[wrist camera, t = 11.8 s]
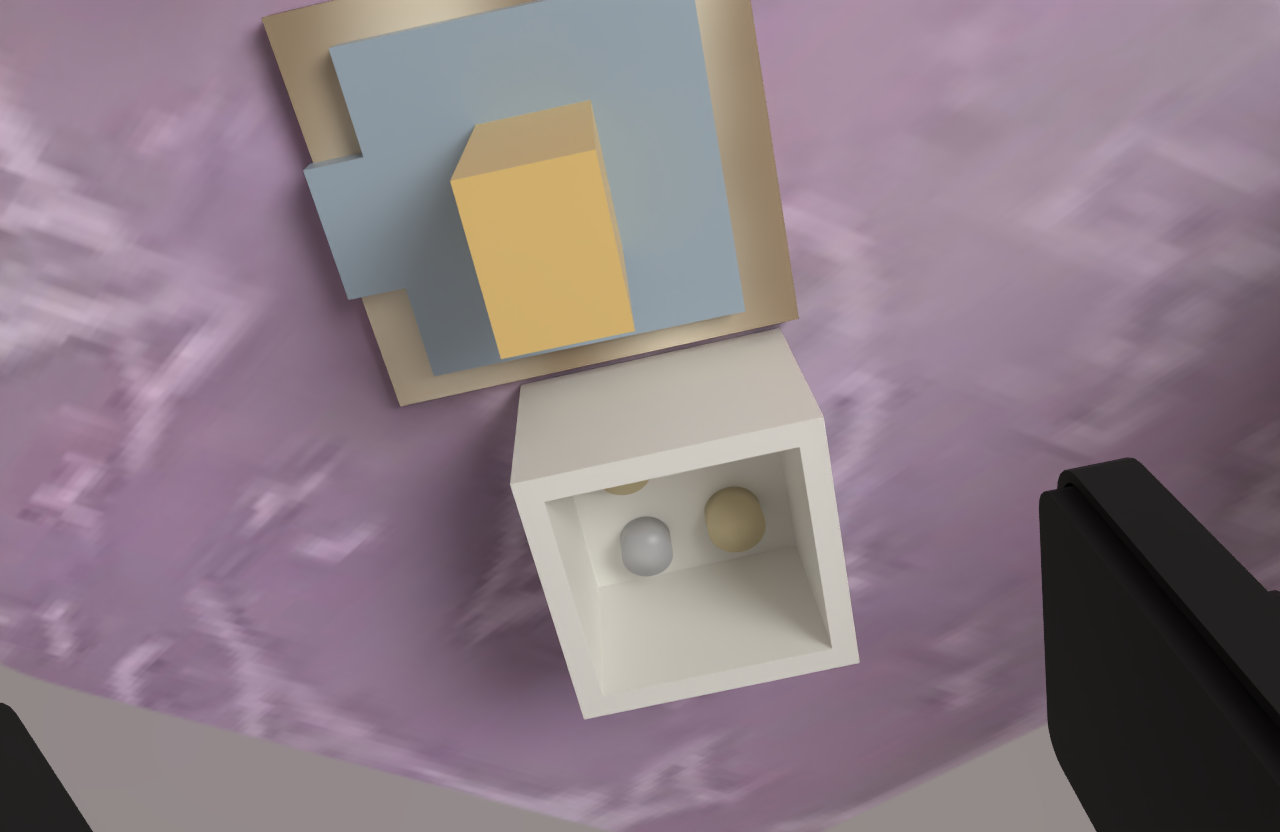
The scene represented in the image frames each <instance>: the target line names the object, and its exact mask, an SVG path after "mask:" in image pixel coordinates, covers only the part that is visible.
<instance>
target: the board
mask: <svg viewBox="0 0 1280 832" xmlns="http://www.w3.org/2000/svg"><path fill="white" fill-rule="evenodd" d="M530 1H535V0H331V1H327V2H323V3H319V4H315V5H310V6H306V7H302V8H298V9H294V10H289V11H285V12H281V13H277V14H272V15H269V16H266V17H263V18H261V19H262V21H263V24H264V27H265V30H266V33H267V35H268V38H269V41H270V44H271V47H272V49H273V52H274V55H275V58H276V61H277V63H278V66H279V69H280V72H281V74H282V77H283V80H284V83H285V86H286V88H287V91H288V94H289V97H290V100H291V102H292V105H293V108H294V111H295V114H296V116H297V119H298V122H299V125H300V128H301V130H302V133H303V136H304V139H305V142H306V144H307V147H308V150H309V153H310V155H311V158H312V161H313V163H316V162H320V161H325V160H330V159H334V158H339V157H343V156H348V155H353V154H357V153H362V151H361V148H360V145H359V142H358V138H357V135H356V132H355V129H354V126H353V123H352V120H351V117H350V114H349V110H348V107H347V104H346V101H345V98H344V95H343V92H342V89H341V86H340V82H339V79H338V76H337V73H336V70H335V67H334V64H333V61H332V58H331V54H330V51H329V48H330V47H332V46H334V45H336V44H341V43H345V42H350V41H354V40H359V39H363V38H368V37H372V36H377V35H381V34H386V33H390V32H395V31H399V30H404V29H408V28H413V27H417V26H422V25H426V24H431V23H435V22H440V21H444V20H449V19H454V18H458V17H463V16H467V15H472V14H476V13H481V12H485V11H490V10H494V9H499V8H503V7H508V6H512V5H517V4H521V3H526V2H530ZM695 4H696V10H697V16H698V22H699V28H700V35H701V41H702V47H703V53H704V59H705V65H706V72H707V78H708V84H709V90H710V96H711V102H712V108H713V115H714V121H715V127H716V133H717V139H718V145H719V151H720V158H721V164H722V170H723V176H724V182H725V188H726V195H727V201H728V207H729V213H730V219H731V225H732V231H733V238H734V244H735V250H736V256H737V262H738V268H739V274H740V281H741V287H742V293H743V299H744V305H745V312H740V313H736V314H731V315H726V316H721V317H716V318H712V319H707V320H702V321H697V322H693V323H688V324H683V325H678V326H673V327H669V328H664V329H659V330H654V331H649V332H645V333H640V334H635V335H630V336H625V337H621V338H616V339H611V340H606V341H602V342H597V343H592V344H587V345H582V346H578V347H573V348H568V349H563V350H558V351H554V352H549V353H544V354H539V355H534V356H530V357H525V358H520V359H515V360H510V361H506V362H501V363H496V364H491V365H487V366H482V367H477V368H472V369H467V370H463V371H458V372H453V373H448V374H443V375H439V376H434V375H433V372H432V369H431V366H430V363H429V359H428V356H427V353H426V350H425V347H424V344H423V341H422V338H421V335H420V331H419V328H418V325H417V322H416V319H415V316H414V313H413V310H412V307H411V303H410V300H409V297H408V294H407V291H406V288H404V289H399V290H394V291H389V292H385V293H380V294H375V295H371V296H366V297H361V298H362V301H363V304H364V306H365V309H366V312H367V315H368V318H369V320H370V323H371V326H372V329H373V331H374V334H375V337H376V340H377V343H378V345H379V348H380V351H381V354H382V357H383V359H384V362H385V365H386V368H387V371H388V373H389V376H390V379H391V382H392V385H393V387H394V390H395V393H396V396H397V399H398V401H399V404H400V406H405V405H409V404H414V403H419V402H423V401H428V400H432V399H437V398H441V397H446V396H450V395H455V394H459V393H464V392H468V391H473V390H478V389H482V388H487V387H491V386H496V385H500V384H505V383H509V382H514V381H518V380H523V379H528V378H532V377H537V376H541V375H546V374H550V373H555V372H559V371H564V370H568V369H573V368H577V367H582V366H587V365H591V364H596V363H600V362H605V361H609V360H614V359H618V358H623V357H627V356H632V355H636V354H641V353H646V352H650V351H655V350H659V349H664V348H668V347H673V346H677V345H682V344H686V343H691V342H696V341H700V340H705V339H709V338H714V337H718V336H723V335H727V334H732V333H736V332H741V331H745V330H750V329H755V328H759V327H764V326H768V325H773V324H777V323H782V322H786V321H791V320H795V319H799V316H798V310H797V303H796V297H795V290H794V283H793V277H792V270H791V264H790V257H789V250H788V244H787V237H786V231H785V224H784V217H783V211H782V204H781V198H780V191H779V184H778V178H777V171H776V165H775V158H774V152H773V145H772V138H771V132H770V125H769V119H768V112H767V105H766V99H765V92H764V86H763V79H762V72H761V66H760V59H759V53H758V46H757V39H756V33H755V26H754V20H753V13H752V6H751V0H695Z"/></svg>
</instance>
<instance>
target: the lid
mask: <svg viewBox="0 0 1280 832" xmlns="http://www.w3.org/2000/svg"><path fill="white" fill-rule="evenodd" d="M329 51H330V54H331V58H332V61H333V64H334V67H335V70H336V73H337V76H338V79H339V82H340V86H341V89H342V92H343V95H344V98H345V101H346V104H347V107H348V110H349V114H350V117H351V120H352V123H353V126H354V129H355V132H356V135H357V138H358V142H359V145H360V148H361V151H362V153H357V154H353V155H348V156H343V157H339V158H334V159H330V160H325V161H320V162H316V163H311V164H310V165H308V166H307V167H306V168H305V169H304V170H303V171H304V174H305V177H306V180H307V183H308V186H309V189H310V191H311V194H312V197H313V200H314V203H315V206H316V209H317V211H318V214H319V217H320V220H321V223H322V226H323V229H324V231H325V234H326V237H327V240H328V243H329V246H330V249H331V251H332V254H333V257H334V260H335V263H336V266H337V269H338V271H339V274H340V277H341V280H342V283H343V286H344V289H345V291H346V294H347V297H348V300H352V299H356V298H361V297H366V296H371V295H375V294H380V293H385V292H389V291H394V290H399V289H404V288H406V291H407V294H408V297H409V300H410V303H411V307H412V310H413V313H414V316H415V319H416V322H417V325H418V328H419V331H420V335H421V338H422V341H423V344H424V347H425V350H426V353H427V356H428V359H429V363H430V366H431V369H432V372H433V375H434V376H439V375H443V374H448V373H453V372H458V371H463V370H467V369H472V368H477V367H482V366H487V365H491V364H496V363H501V362H506V361H510V360H515V359H520V358H525V357H530V356H534V355H539V354H544V353H549V352H554V351H558V350H563V349H568V348H573V347H578V346H582V345H587V344H592V343H597V342H602V341H606V340H611V339H616V338H621V337H625V336H630V335H635V334H640V333H645V332H649V331H654V330H659V329H664V328H669V327H673V326H678V325H683V324H688V323H693V322H697V321H702V320H707V319H712V318H716V317H721V316H726V315H731V314H736V313H740V312H745V305H744V299H743V293H742V287H741V281H740V274H739V268H738V262H737V256H736V250H735V244H734V238H733V231H732V225H731V219H730V213H729V207H728V201H727V195H726V188H725V182H724V176H723V170H722V164H721V158H720V151H719V145H718V139H717V133H716V127H715V121H714V115H713V108H712V102H711V96H710V90H709V84H708V78H707V72H706V65H705V59H704V53H703V47H702V41H701V35H700V28H699V22H698V16H697V10H696V4H695V0H535V1H530V2H526V3H521V4H517V5H512V6H508V7H503V8H499V9H494V10H490V11H485V12H481V13H476V14H472V15H467V16H463V17H458V18H454V19H449V20H444V21H440V22H435V23H431V24H426V25H422V26H417V27H413V28H408V29H404V30H399V31H395V32H390V33H386V34H381V35H377V36H372V37H368V38H363V39H359V40H354V41H350V42H345V43H341V44H336V45H334V46H332V47H330V48H329Z"/></svg>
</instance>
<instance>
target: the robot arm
mask: <svg viewBox="0 0 1280 832" xmlns="http://www.w3.org/2000/svg"><path fill="white" fill-rule="evenodd" d="M1039 520H1040V545H1041V569H1042V594H1043V618H1044V643H1045V668H1046V692H1047V717H1048V728H1049V733H1050V738H1051V742H1052V745H1053V748H1054V751H1055V754H1056V756H1057V759H1058V761H1059V763H1060V765H1061V767H1062V769H1063V771H1064V773H1065V775H1066V777H1067V779H1068V780H1069V782H1070V784H1071V786H1072V788H1073V790H1074V791H1075V793H1076V795H1077V797H1078V798H1079V801H1080V802H1081V804H1082V806H1083V808H1084V810H1085V811H1086V813H1087V815H1088V817H1089V818H1090V821H1091V822H1092V824H1093V826H1094V828H1095V830H1096V831H1097V832H1280V592H1279V591H1276V590H1274V591H1269V592H1268V591H1267V590H1266V589H1265V588H1264V587H1263V586H1262V585H1261V584H1260V583H1259V582H1258V581H1257V580H1256V579H1255V578H1254V577H1253V576H1252V575H1251V574H1250V573H1249V572H1248V571H1247V570H1246V569H1245V568H1244V567H1243V566H1242V565H1241V564H1240V563H1239V562H1238V561H1237V560H1236V559H1235V558H1234V557H1233V556H1232V555H1231V554H1230V553H1229V552H1228V551H1227V550H1226V549H1225V548H1224V547H1223V546H1222V545H1221V544H1220V543H1219V541H1218V540H1217V539H1216V538H1215V537H1214V536H1213V535H1212V534H1211V533H1210V532H1209V531H1208V530H1207V529H1206V528H1205V527H1204V526H1203V525H1202V524H1201V523H1200V522H1199V521H1198V520H1197V519H1196V518H1195V517H1194V516H1193V515H1192V514H1191V513H1190V512H1189V511H1188V510H1187V509H1186V508H1185V507H1184V506H1183V505H1182V504H1181V503H1180V502H1179V501H1178V500H1177V499H1176V498H1175V497H1174V496H1173V495H1172V494H1171V493H1170V492H1169V491H1168V490H1167V489H1166V488H1165V487H1164V486H1163V485H1162V484H1161V483H1160V482H1159V481H1158V480H1157V479H1156V478H1155V477H1154V476H1153V475H1152V474H1151V473H1150V472H1149V471H1148V470H1147V469H1146V468H1145V467H1144V466H1143V465H1142V464H1141V463H1140V462H1138V461H1137V460H1136V459H1134V458H1123V459H1118V460H1113V461H1108V462H1103V463H1098V464H1093V465H1088V466H1083V467H1078V468H1073V469H1068V470H1064V471H1063V472H1062V473H1061V474H1060V476H1059V480H1058V486H1057V489H1055V490H1050V491H1045V492H1043V493H1042V494H1041V496H1040V500H1039ZM0 832H93V831H92V830H91V828H90V827H89V825H88V824H87V822H86V820H85V819H84V817H83V816H82V814H81V813H80V811H79V810H78V808H77V807H76V805H75V803H74V802H73V801H72V799H71V797H70V796H69V794H68V793H67V791H66V790H65V788H64V787H63V785H62V783H61V782H60V780H59V779H58V778H57V776H56V774H55V773H54V771H53V770H52V768H51V766H50V765H49V763H48V762H47V760H46V759H45V757H44V756H43V754H42V753H41V751H40V750H39V748H38V746H37V745H36V743H35V742H34V740H33V739H32V737H31V736H30V734H29V733H28V731H27V729H26V728H25V726H24V725H23V723H22V722H21V720H20V719H19V717H18V716H17V714H16V713H15V712H14V711H13V709H12V708H11V707H9V706H8V705H6V704H4V703H0Z"/></svg>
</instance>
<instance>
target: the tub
mask: <svg viewBox="0 0 1280 832" xmlns="http://www.w3.org/2000/svg"><path fill="white" fill-rule="evenodd" d="M510 486H511V489H512V492H513V495H514V498H515V502H516V505H517V508H518V511H519V514H520V518H521V521H522V524H523V527H524V530H525V533H526V537H527V540H528V543H529V546H530V549H531V552H532V556H533V559H534V562H535V565H536V568H537V571H538V575H539V578H540V581H541V584H542V587H543V590H544V594H545V597H546V600H547V603H548V606H549V609H550V613H551V616H552V619H553V622H554V625H555V629H556V632H557V635H558V638H559V641H560V644H561V648H562V651H563V654H564V657H565V660H566V663H567V667H568V670H569V673H570V676H571V679H572V682H573V686H574V689H575V692H576V695H577V698H578V701H579V705H580V708H581V711H582V714H583V717H584V719H589V718H594V717H599V716H604V715H609V714H613V713H618V712H623V711H628V710H633V709H638V708H643V707H647V706H652V705H657V704H662V703H667V702H672V701H677V700H681V699H686V698H691V697H696V696H701V695H706V694H711V693H715V692H720V691H725V690H730V689H735V688H740V687H745V686H749V685H754V684H759V683H764V682H769V681H774V680H779V679H784V678H788V677H793V676H798V675H803V674H808V673H813V672H818V671H822V670H827V669H832V668H837V667H842V666H847V665H852V664H856V663H860V662H859V655H858V648H857V641H856V634H855V628H854V621H853V614H852V607H851V600H850V594H849V587H848V580H847V573H846V566H845V559H844V553H843V546H842V539H841V532H840V525H839V519H838V512H837V505H836V498H835V491H834V484H833V478H832V471H831V464H830V457H829V450H828V444H827V437H826V430H825V423H824V417H823V415H822V413H821V411H820V409H819V407H818V405H817V402H816V400H815V398H814V396H813V394H812V392H811V390H810V388H809V386H808V384H807V382H806V380H805V378H804V376H803V374H802V372H801V370H800V368H799V366H798V364H797V362H796V360H795V358H794V356H793V354H792V352H791V350H790V348H789V346H788V344H787V342H786V340H785V338H784V336H783V334H782V332H781V330H780V328H777V329H773V330H768V331H764V332H759V333H754V334H750V335H745V336H741V337H736V338H732V339H727V340H723V341H718V342H714V343H709V344H704V345H700V346H695V347H691V348H686V349H682V350H677V351H673V352H668V353H664V354H659V355H654V356H650V357H645V358H641V359H636V360H632V361H627V362H623V363H618V364H614V365H609V366H604V367H600V368H595V369H591V370H586V371H582V372H577V373H573V374H568V375H564V376H559V377H554V378H550V379H545V380H541V381H536V382H532V383H527V384H523V385H521V389H520V398H519V407H518V416H517V425H516V435H515V444H514V453H513V462H512V471H511V481H510Z"/></svg>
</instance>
